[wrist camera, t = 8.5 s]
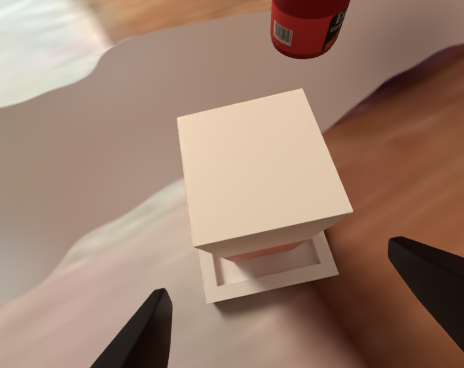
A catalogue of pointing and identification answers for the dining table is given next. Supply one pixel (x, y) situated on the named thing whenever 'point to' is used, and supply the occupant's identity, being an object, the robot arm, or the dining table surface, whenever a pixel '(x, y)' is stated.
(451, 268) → the robot arm
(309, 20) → the canned food
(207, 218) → the two tone block
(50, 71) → the dining table surface
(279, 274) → the white tray
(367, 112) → the dining table surface
